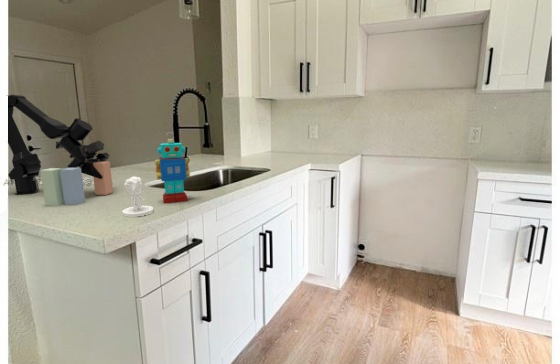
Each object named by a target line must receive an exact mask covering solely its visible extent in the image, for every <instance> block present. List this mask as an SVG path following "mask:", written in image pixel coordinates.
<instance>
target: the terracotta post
mask: <svg viewBox="0 0 560 364" xmlns="http://www.w3.org/2000/svg"><path fill="white" fill-rule="evenodd" d="M93 166H94V167H95V168H96V169H97V171H98V172H99V173H100V174H101V175H102V177H103V178H102V179H99V178H96V177H93V176H92V179H93V186H94V194H95V195H99V196H100V195H101V196H104V195H105V196H107V195H109V194H112V193H113V192H114V188H113V187H114V186H113V180H112V178H113V177H112V172H111V171H112V169H111V162H110V161H99V162H94V163H93Z"/></svg>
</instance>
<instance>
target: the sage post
mask: <svg viewBox="0 0 560 364" xmlns="http://www.w3.org/2000/svg"><path fill="white" fill-rule="evenodd" d="M61 169H63V168H61V167H60V168H58V167H57V168H56V167H50V168H45V169H40V170H39V173H40V179H41V185H42V191H43V196H44V197H43V198H44V203H45V204H44V205H45V206H54V207H55V206H56V207H58V206H60V205H63V204H64V205H65V202H64V195H63V188H62V182H61V175H60V170H61Z"/></svg>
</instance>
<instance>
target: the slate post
mask: <svg viewBox="0 0 560 364" xmlns="http://www.w3.org/2000/svg"><path fill="white" fill-rule="evenodd" d="M60 175H61V182H62V188H63V195H64V202H65V203H64V205H66V206H67V205H69V206H71V205H73V206H74V205H75V206H76V205H77V206H78V205H79V204H82V203H85V202H86V196H85V195H86V194H85V189H84V182H83V173H82V172H81V168H79V167H77V168H67V167H66V168H62V169H61V170H60Z"/></svg>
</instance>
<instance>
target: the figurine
mask: <svg viewBox="0 0 560 364" xmlns="http://www.w3.org/2000/svg"><path fill="white" fill-rule="evenodd" d="M142 182H143V181H142V178H141V177H139V176H131V177H130V178H128V179H127V178H126V179H125V181H124V184H123V186H124V188H125V191H126V192H127V193H129V194H131V196H130V197H131V198H130V199H131V200H130V202H131V203H132V204H133V205H132V206H130V207H127V208H124V209H123V210H122V216H123V215H124V216H123V217H125V216H127V217H126V218H138V217H137V216H141V217H145V216H144V215H146V216H149V215H152V214H153V213H154V207H153V206H151V205H142V200H143V201H145V198H144V196H142V194H143V192H144V186H143V183H142ZM148 214H149V215H148Z"/></svg>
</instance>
